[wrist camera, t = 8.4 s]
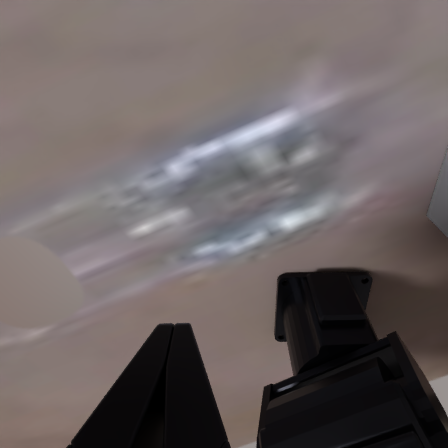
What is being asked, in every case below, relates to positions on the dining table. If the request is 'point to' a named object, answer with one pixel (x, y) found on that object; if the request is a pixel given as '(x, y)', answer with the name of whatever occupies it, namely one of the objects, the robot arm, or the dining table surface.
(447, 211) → the trap deck
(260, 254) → the dining table surface
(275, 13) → the dining table surface
